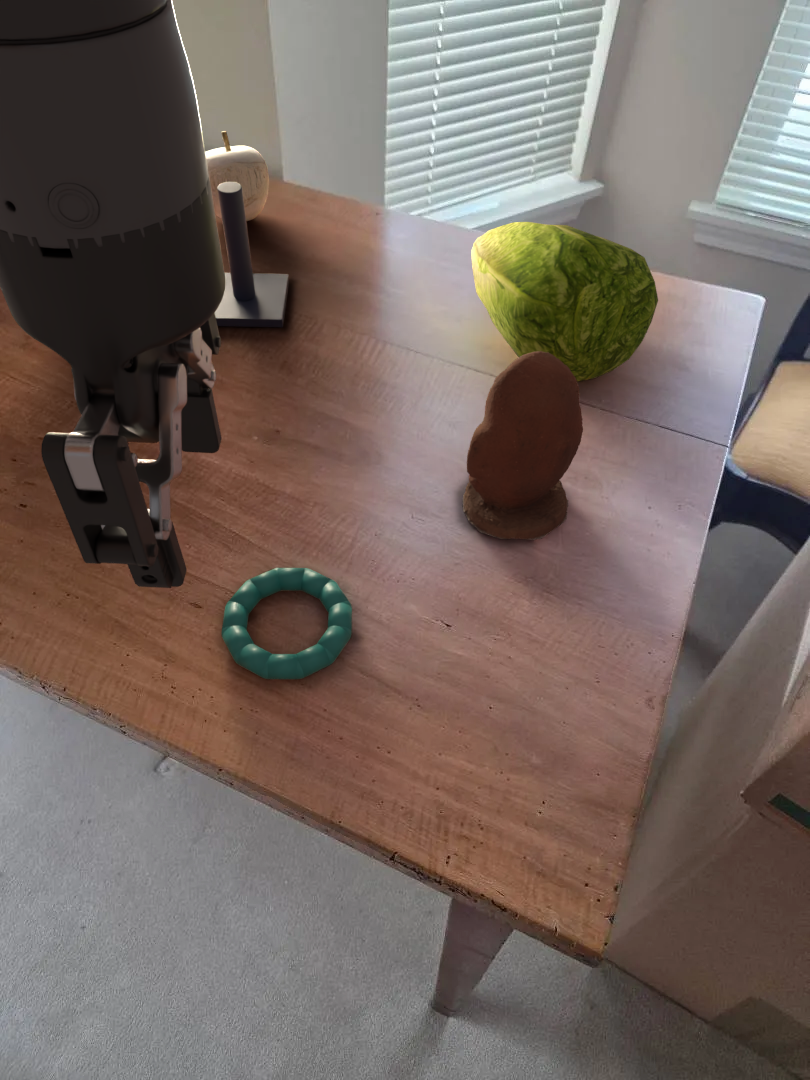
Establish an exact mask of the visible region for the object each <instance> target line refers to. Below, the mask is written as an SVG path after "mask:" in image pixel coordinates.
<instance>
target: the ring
mask: <svg viewBox="0 0 810 1080" xmlns="http://www.w3.org/2000/svg"><path fill="white" fill-rule="evenodd" d="M282 591H283V592H303V593H306V594H308V595H310V596H312V597H314V598H316V599H318V600H319V601H320V602H321V604H322V605H323V607H324V609H325V610H326V611H327V613H328V614H327V629H326V630H325V632H324V633H323V634H322V635H321V637H320V638H319V640H318V641H317V642H316V644H313V645H312V646H309V647H307V648H305V649H303V650H301V651H298V652H297V653H271V652H270V651H269V650H266V649H264V648H262V647H260V646H258V645H257V644H256V643H254V640H253V639H252V637H251V635H250V633H249V632H248V624H249V623H248V622H249V617H250V616H249V615H250V613H251V612H252V611H253V610H254V609H255V607H256V606H257V605H258V604H259V603H260V602H261V600H263V599H265V598H267V597H269V596H272V595H274V594H277V593H279V592H282ZM224 606H225V607H224V611H223V619H222V625H221V631H220V632H221V633H220V634H221V639H222V640H223V642H224V645H225V646H226V648H227V650H228V651H229V654H230V655H231V657H232V659H233V661H234V662H235V663H236V664H237V665H238V666H240V667H242V668H244V669H245V670H248V671H249V672H251V673H253V674H255V675H257V676H258V677H260V678H262V679H265V680H302V679H305V678H306V677H309V676H311V675H313V674H315V673H316V672H319V671H321V670H323V669H325V668H327V667H329V666H331V665H332V664H333V663H334V662H335V661H336V660H337V658H339V656H340V654H341V653H342V651H343V650H344V648H345V647H346V645H347V644H348V643H349V641H350V639H351V637H352V634H353V606H352V603H351V601H350V600H349V599H348V597H347V595H345V593H344V591H343V590H342V589H341V586H339V584H338V582H337V581H336V580H334V579H333V578H330V577H328V576H326V575H325V574H321V573H319V572H317V571H315V570H313V569H311V568H309V567H275V568H272V569H269V570H267V571H265V572H262V573H260V574H258V575H256V576H253V577H251V578H249V579H247V580H245V581H244V583H243V584H242V585H241V586H240V587H239V588H238V589H237V591H236V592H235V593H234V594H233V595H232V597H230V598H229V600H228V601H227V602H226V604H225V605H224Z"/></svg>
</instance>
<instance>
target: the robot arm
mask: <svg viewBox="0 0 810 1080" xmlns="http://www.w3.org/2000/svg"><path fill="white" fill-rule="evenodd" d="M174 8H175V7H174V3H173V0H0V291H1V293H2V295H3V298H4V300H5V303H6V305H7V307H8V310H9V312H10V314H11V316H12V318H13V320H14V321H15V323H16V324H17V325H18V326H19V328H20V329H22V330H23V332H24V333H26V334H27V335H28V336H29V337H31V338H32V339H34V340H35V341H37V342H39V343H41V344H42V345H44V346H45V347H47V348H48V349H49V350H51V351H53V352H54V353H56V354H57V355H58V356H60V357H61V358H62V359H63V360H65V361H66V362H67V363H68V364H69V366H70V367H71V369H70V370H71V375H72V379H73V397H74V400H75V402H76V407H77V409H78V411H79V414H80V415H81V416H80V418H79V419H78V421H77V422H76V425H75V426H74V429H73V431H72V432H54V431H49V432H46V433H45V434H44V436H43V438H42V440H41V441H42V442H41V446H40V447H41V449H40V452H41V454H40V455H41V459H42V463H43V465H44V467H45V470H46V473H47V475H48V477H49V480H50V482H51V484H52V487H53V489H54V492H55V494H56V496H57V499H58V502H59V504H60V506H61V509H62V512H63V514H64V516H65V519H66V521H67V524H68V526H69V528H70V531H71V533H72V536H73V538H74V541H75V543H76V545H77V549H78V550H79V553H80V555H81V557H82V560H83V562H84V563H85V564H90V565H91V564H93V565H101V564H115V565H126V566H127V568H128V569H129V573H130V574H131V577H132V580H133V582H134V585H136V586H137V587H139V588H157V589H158V588H160V589H172V588H178V587H181V586H182V585H183V584H184V582H185V578H186V575H187V574H186V573H187V571H188V568H187V566H186V562H185V560H184V556H183V552H182V548H181V546H180V542H179V540H178V536H177V533H176V529H175V525H174V521H172V513H171V512H172V511H171V510H172V509H171V507H172V506H171V505H172V504H171V484H172V482H173V481H174V480H176V479H178V478H179V477H180V476H181V474H182V472H183V452H185V453H197V454H215V453H217V452H219V450H220V447H221V443H222V440H223V439H222V437H223V436H222V432H221V427H220V421H219V417H218V413H217V408H216V403H215V399H214V392H213V388H214V387H215V383H216V381H217V371H216V370H215V366H214V363H213V362H212V359H213V358H212V357H213V356H214V355H215V356H216V355H219V354H220V353H219V352H220V348H221V347H222V338H221V336H220V332H219V326H217V322H216V317H215V311H216V310H217V308H218V307H219V305H220V303H221V301H222V298H223V295H224V291H225V283H226V281H225V273H226V272H225V266H224V260H223V253H222V247H221V241H220V235H219V229H218V224H217V223H218V221H217V217H216V215H215V210H214V203H213V197H212V191H211V184H210V178H209V172H208V168H207V162H206V155H205V152H206V150H205V144H204V143H205V142H204V137H203V136H204V135H203V130H202V122H201V117H200V112H199V104H198V99H197V94H196V93H197V92H196V89H195V84H194V79H193V75H192V71H191V67H190V63H189V60H188V56H187V53H186V50H185V46H184V43H183V40H182V36H181V32H180V29H179V24H178V21H177V18H176V13H175V9H174ZM129 443H140V444H141V443H142V444H156V443H159V454H158V457H157V459H146V458H138V455H137V453H135V452H131V449H130V446H129ZM141 483H143V484H145V485H146V486H147V488H148V499H149V500H148V501H149V503H148V504H149V508H148V507H147V503H146V500H145V497H144V493H143V489H142V487H141Z"/></svg>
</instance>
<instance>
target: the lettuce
mask: <svg viewBox="0 0 810 1080" xmlns="http://www.w3.org/2000/svg"><path fill="white" fill-rule="evenodd" d="M470 256H471V259H470V260H471V267H472V275H473V280H474V287H475V292H476V295H477V296H478V299H480V301H481V303H482V304H483V306H484V308H485V310H486V311H487V313H488V315H489V318H490V320H491V322H492V323H493V325H494V327H495V328H496V329H497V331H498V332H499V334H500V335H501V336H502V338H503V339H504V340H505V341H506V343H507V345H508V346H509V347H510V348H511V349H512V351H513V352H514V354H516V356H517V358H519V357H520V356H522V355H524V354H527V353H531V352H536V351H543V352H546V353H547V352H548V353H550V354H552V355H554V356H555V357H556V358H558V359H559V360H560V361H561V362H563V364H564V365H567V366H568V368H569V369H570V371H571V372H572V373H573V375H574V376H575V378H576V380H577V383H578V382H582V381H587V380H594V379H596V378H599V377H602V376H604V375H606V374H609V373H611V372H613V371H615V370H616V369H617V368H619V367H620V366H622V365H623V364H624V363H626V362H628V361H629V360H630V359H631V357H632V356H633V355H634V353H635V352H636V351H637V349H638V348H639V347H640V345H641V344H642V342H643V341H644V339H645V337H646V334H647V332H648V330H649V329H650V326H651V324H652V322H653V318H654V315H655V313H656V309H657V306H658V302H659V297H658V291H657V286H656V281H655V278H654V276H653V274H652V272H651V269H650V267H649V265H648V262H647V260H646V258H645V257H646V256H643V255H642V254H640V253H638V252H637V251H635V250H634V249H632V248H630V247H627V246H625V245H623V244H620V243H617V242H615V241H613V240H609V239H607V238H605V237H602V236H598V235H595V234H592V233H590V232H586V231H583V230H581V229H579V228H576V227H573V226H570V225H568V224H546V223H539V222H532V221H518V222H517V221H514V222H510V223H507V224H506V223H505V224H503V225H500V226H497V227H494V228H491V229H489V230H487V231H486V232H485V233H483V234H482V235H479V236H478V237H477V238H476V239H475V241H474V242H473V244H472V248H471V251H470Z"/></svg>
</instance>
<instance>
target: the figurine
mask: <svg viewBox="0 0 810 1080" xmlns="http://www.w3.org/2000/svg"><path fill="white" fill-rule="evenodd" d="M582 413H583V411H582V407H581V404H580V386H579V383H578V382H577V380H576V378H575V376H574V375H573V373H572V372H571V371H570V369H569V368H568V366H567V365H564V364H563V362H561V361H560V360H559V359H558V358H556V357H555V356H554V355H552V354H550V353H548V352H547V353H546V352H543V351H536V352H531V353H527V354H524V355H522V356H520V357H516V359H514V360H513V361H512V362H511V363H510V364H509V365H508V366H507V367H506V368H505V369H503V371H501V372H500V373H499V374H498V375H497V376H496V377H495V379H494V380H493V384H492V385H491V387H490V389H489V391H488V393H487V396H486V400H485V405H484V417H483V420H482V421H481V423H479V424H478V426H477V427H476V428H475V429H474V432H473V434H472V436H471V438H470V439H471V440H470V443H469V447H468V450H467V455H466V472H467V474H468V483H467V484H466V486H465V491H464V493H463V495H462V499H461V503H462V504H463V505H462V511H463V513H464V514H465V517H466V519H467V521H468V522H469V523H470V524H471V525H472V526H473V527H474V528H475V529H476V530H477V531H478V532H479V533H481V534H484V535H488V536H490V537H493V538H497V539H500V540H512V539H515V540H517V539H520V540H532V541H536V540H542V539H543V538H545V537H546V536H547V535H549V534H550V533H551V532H553V531H554V530H555V529H556V528H558V527H559V526H561V525H562V524H564V523H565V522H566V521H567V518H568V517H567V516H568V509H569V500H568V497H567V492H566V490H565V489H564V487H563V484H562V481H561V479H562V478H563V476H564V475H565V474H566V473H567V471H568V469H569V467H570V466H571V464H572V462H573V461H574V458H575V457H576V455H577V453H578V450H579V447H580V445H581V442H582V438H583V437H582V436H583V432H584V425H583V424H584V423H583V421H584V420H583V419H584V418H583V414H582Z"/></svg>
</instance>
